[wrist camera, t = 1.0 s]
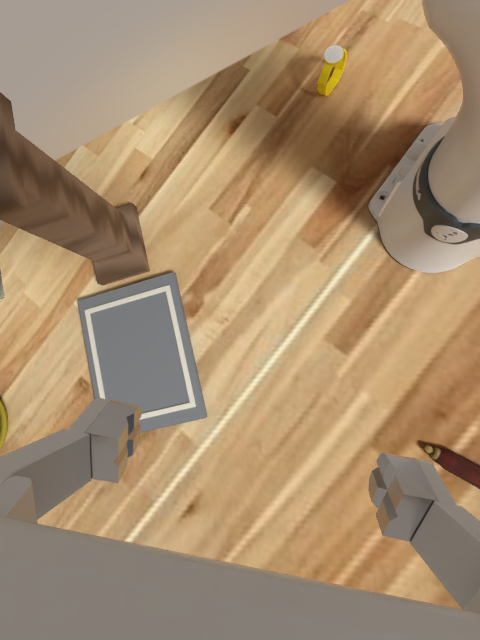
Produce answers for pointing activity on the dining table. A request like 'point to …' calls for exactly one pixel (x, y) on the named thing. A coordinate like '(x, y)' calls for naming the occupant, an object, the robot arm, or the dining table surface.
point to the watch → (331, 58)
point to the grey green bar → (1, 288)
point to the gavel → (456, 465)
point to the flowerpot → (3, 423)
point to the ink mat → (143, 351)
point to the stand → (65, 207)
